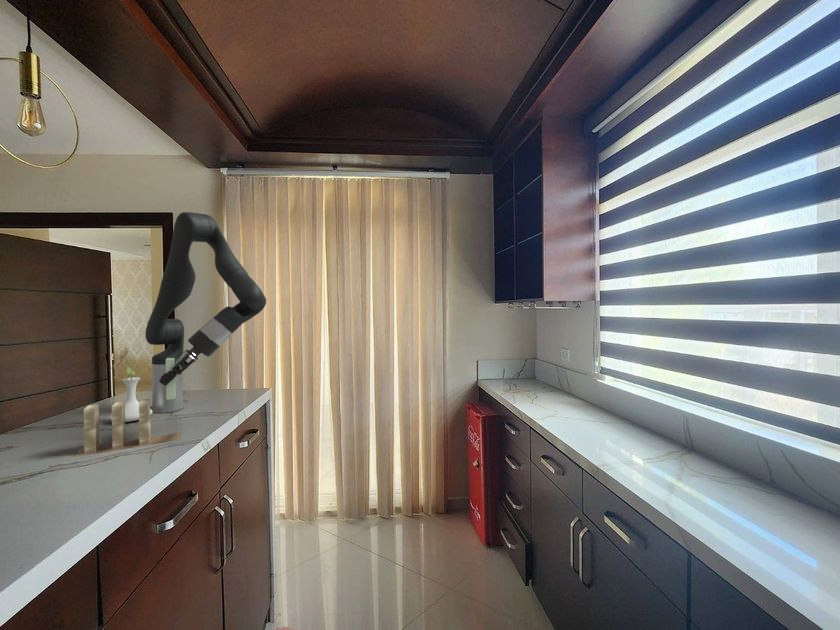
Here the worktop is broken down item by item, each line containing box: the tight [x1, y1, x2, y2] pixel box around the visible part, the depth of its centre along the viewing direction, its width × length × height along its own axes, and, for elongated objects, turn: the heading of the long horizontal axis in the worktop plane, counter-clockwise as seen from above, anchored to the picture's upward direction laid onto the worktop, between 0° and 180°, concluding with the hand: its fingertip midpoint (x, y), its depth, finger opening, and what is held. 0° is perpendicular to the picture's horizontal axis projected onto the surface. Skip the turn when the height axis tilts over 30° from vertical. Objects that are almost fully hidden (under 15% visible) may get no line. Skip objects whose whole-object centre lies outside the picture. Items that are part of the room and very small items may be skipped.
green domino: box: [166, 358, 176, 400], centre depth 106 cm, size 2×5×11 cm, turn 32°
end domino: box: [83, 403, 100, 454], centre depth 95 cm, size 2×5×11 cm, turn 31°
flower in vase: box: [109, 345, 154, 423], centre depth 123 cm, size 13×11×25 cm
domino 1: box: [111, 401, 126, 449], centre depth 98 cm, size 2×5×11 cm, turn 32°
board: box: [73, 432, 182, 458], centre depth 100 cm, size 22×7×1 cm, turn 122°
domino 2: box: [138, 398, 152, 445], centre depth 101 cm, size 2×5×11 cm, turn 32°
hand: (162, 381), depth 105 cm, fingers closed on green domino, 5 cm apart
